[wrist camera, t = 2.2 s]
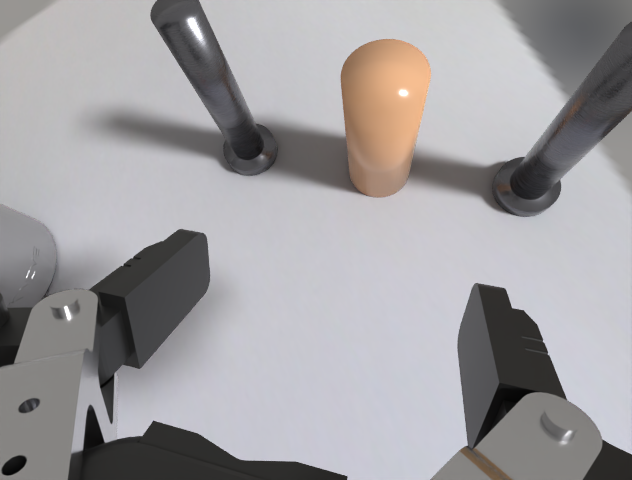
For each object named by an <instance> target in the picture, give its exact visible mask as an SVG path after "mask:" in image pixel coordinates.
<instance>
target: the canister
mask: <svg viewBox="0 0 632 480" xmlns="http://www.w3.org/2000/svg"><path fill="white" fill-rule="evenodd" d="M430 77H431V70H430V65H429V63H428V60H427V59H426V57H425V55H424V54H423V53H422V52H421V51H420V50H419V49H418V48H416V47H415V46H413V45H411V44H409V43H407V42H404V41H400V40H394V39H382V40H376V41H372V42H369V43H367V44H364V45H362V46H361V47H359V48H358V49H356V50H355V51H354V52H353V53H351V55H350V56H349V57H348V58H347V60H346V61H345V63H344V65H343V68H342V71H341V88H342V99H343V110H344V120H345V131H346V142H347V153H348V164H349V174H350V179H351V181H352V183H353V185H354V186H355V187H356V188H357V189H358V190H359V191H360V192H362V193H363V194H365V195H368V196H371V197H387V196H390V195H393V194H395V193H396V192H398V191H399V190H400V189H401V188H402V187H403V186H404V185H405V183H406V182H407V180H408V177H409V172H410V168H411V163H412V159H413V154H414V150H415V145H416V141H417V136H418V132H419V127H420V123H421V118H422V114H423V110H424V105H425V101H426V96H427V92H428V87H429V83H430Z"/></svg>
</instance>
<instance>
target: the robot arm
mask: <svg viewBox="0 0 632 480" xmlns="http://www.w3.org/2000/svg"><path fill="white" fill-rule="evenodd" d="M56 260H57V253H56V245H55V242H54V239H53V236H52V234H51V233H50V231H49V230H48V228H47V227H46V226H45V225H44V224H42V223H41V222H40V221H38V220H36V219H34V218H32V217H30V216H27V215H25V214H23V213H21V212H18V211H16V210H14V209H12V208H9V207H7V206H5V205H3V204H0V480H347V477H348V476H344V475H341V474H337V473H334V472H330V471H327V470H323V469H320V468H316V467H313V466H309V465H306V464H302V463H299V462H285V461H244V460H239V459H237V458H235V457H234V456H232V455H230V454H229V453H227V452H226V451H224V450H223V449H221V448H220V447H218V446H216V445H215V444H213V443H212V442H210V441H209V440H207V439H205V438H204V437H202V436H201V435H199V434H198V433H194V432H191V431H187V430H184V429H180V428H177V427H173V426H170V425H166V424H163V423H159V422H156V421H153V422H152V424H151V425H150V426H149V428H148V429H147V431H146V432H145V433H144V435H143V436H137V437H127V438H122V439H117V411H118V375H117V372H116V371H117V370H118V369H119V368H120V367H121V366H122V365H127V366H131V367H135V368H138V369H140V368H141V367H142V366H143V365H144V364H145V363H146V361H147V360H148V359H149V358H150V357H151V356H152V354H153V353H154V352H155V351H156V350H157V349H158V348H159V346H160V345H161V344H162V343H163V342H164V341H165V339H166V338H167V337H168V336H169V335H170V334H171V332H172V331H173V330H174V329H175V328H176V327H177V326H178V324H179V323H180V322H181V321H182V320H183V319H184V317H185V316H186V315H187V314H188V313H189V312H190V311H191V309H192V308H193V307H194V306H195V305H196V304H197V302H198V301H199V300H200V299H201V298H202V297H203V295H204V294H205V293H206V291H207V289H208V286H209V282H210V268H209V256H208V243H207V237H206V235H205V234H204V233H200V232H195V231H189V230H183V229H179V230H177V231H176V232H175V233H173V234H172V235H171V236H169V237H168V238H167V239H166V240H164V241H161V242H159V243H156V244H154V245H151V246H149V247H146V248H144V249H143V250H142V251H140V252H139V253H138V254H136V255H135V256H134V257H133V259H132V258H131V259H130V260H128V261H127V262H126V263H124V266H120V267H119V268H118V269H116V270H115V271H114V272H112V273H111V274H110V275H108V276H107V277H106V278H104V279H103V280H102V281H100V282H99V283H97V284H96V285H95V286H93V287H92V288H91V289H89V290H84V289H72V290H66V291H61V292H58V293H55V294H52V295H50V296H48V297H46V298H44V299H42V298H43V296H44V295H45V293H46V291H47V290H48V288H49V286H50V284H51V282H52V279H53V275H54V272H55V269H56ZM41 299H42V300H41ZM40 300H41V301H40ZM458 358H459V367H460V376H461V385H462V395H463V404H464V413H465V422H466V432H467V441H468V446H465V447H463V448H462V449H461V450H459V451H458V452H457V453H456V454H455V455H454V456H453V457H452V458H451V459H450V460H449V461H448V462H447V463H446V464H445V465H444V466H443V467H442V468H441V469H440V470H439V471H438V472H437V473H436V474H435V475H434V476H433V477H432V478H431V479H430V480H632V455H631V454H629V453H627V452H625V451H623V450H621V449H619V448H617V447H615V446H613V445H611V444H609V443H607V442H606V441H604V440H602V437H601V434H600V432H599V430H598V428H597V426H596V425H595V423H594V422H593V421H592V420H591V418H590V417H589V416H588V415H587V414H586V413H584V412H583V411H582V410H581V409H580V408H578V407H577V406H575V405H574V404H572V403H571V402H569V401H567V399H566V396H565V394H564V391H563V389H562V386H561V384H560V381H559V379H558V376H557V374H556V371H555V369H554V366H553V364H552V361H551V358H550V356H549V355H548V351H547V348H546V346H545V343H543V338H542V336H541V333H540V331H539V328H538V326H537V324H536V323H535V322H534V321H533V320H532V319H531V318H530V317H529V316H528V315H527V314H526V313H525V311H524V310H518V309H513V308H512V307H511V304H510V301H509V298H508V294H507V291H506V289H505V288H501V287H495V286H490V285H484V284H478V283H475V284H474V286H473V288H472V290H471V293H470V297H469V300H468V303H467V306H466V309H465V313H464V316H463V319H462V322H461V326H460V329H459V335H458Z"/></svg>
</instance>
